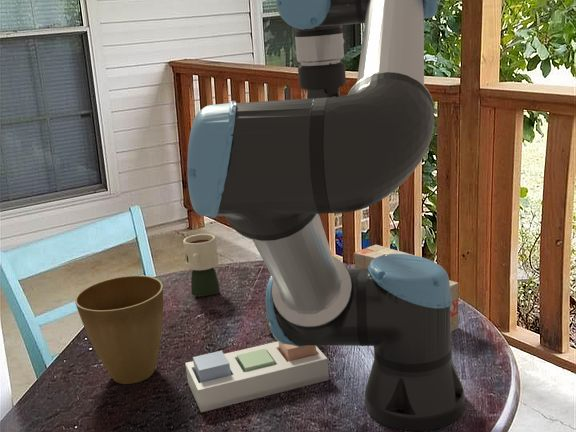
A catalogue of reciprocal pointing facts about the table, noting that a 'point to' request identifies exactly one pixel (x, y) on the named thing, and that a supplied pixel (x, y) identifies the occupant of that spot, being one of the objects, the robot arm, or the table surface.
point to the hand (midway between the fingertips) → (330, 204)
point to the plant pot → (124, 324)
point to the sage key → (255, 360)
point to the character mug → (202, 263)
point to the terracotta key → (296, 351)
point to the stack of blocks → (375, 251)
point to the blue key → (211, 366)
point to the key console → (257, 378)
